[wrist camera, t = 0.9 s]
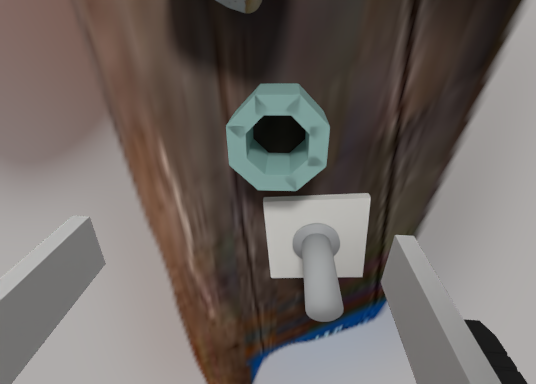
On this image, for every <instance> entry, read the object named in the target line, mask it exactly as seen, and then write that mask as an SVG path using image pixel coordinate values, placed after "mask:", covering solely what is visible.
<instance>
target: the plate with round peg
mask: <svg viewBox="0 0 536 384" xmlns="http://www.w3.org/2000/svg"><path fill="white" fill-rule="evenodd" d="M370 200H371V198H370V196H369V193H359V194H333V195H308V196H282V197H264V198H263V207H264V217H265V226H266V235H267V245H268V254H269V264H270V273H271V278H304V292H305V310H306V313H307V315H308V316H309V317H310V318H312V319H313V320H316V321H320V322H328V321H333V320H335V319H337V318H339V317H340V316H341V315H342V313H343V303H342V298H341V293H340V288H339V282H338V277H362V276H363V267H364V257H365V248H366V238H367V229H368V219H369V210H370Z"/></svg>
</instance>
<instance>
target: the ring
mask: <svg viewBox="0 0 536 384" xmlns="http://www.w3.org/2000/svg"><path fill="white" fill-rule="evenodd" d="M264 115H291V116H292V117H293V118H294V119H295V120H296V121H297V122H298V123H299V124H300V125H301V126H302V127H303V128H304V129H305V130H306V133H305V140H303V141H302V142H301V143H300V144H299V145H298V146H297V147H296V148H295V149H293V150H292V151H291V152H290V153H268V152H267V151H266V150H265V149H264V148H263V147H262V146H261V145H260V144H259V143H258V142H257V141H256V140H255V139H253V126H254V125H255V124H256V123H257V122H258V121H259V120H260V119H261V118H262V117H263V116H264ZM329 132H330V126H329V123H328V121H327V118H326V116H325V114H324V111H323V110H322V109H321V108H320V106H319V105H318V104H317V103H316V102H315V101H314V100H313V99H312V98H311V97H310V96H309V95H308V93H307V92H306V91H305V90H304V89H303V88H302V87H301V86H300V85H299V84H260V85H259V86H258V87H257V88H256V89H255V90H254V92H253V93H252V94H251V95H250V96H249V97H248V98H247V99H246V100H245V101H244V102H243V103H242V105H241V106H240V107H239V108H238V109H237V110H236V111H235V113H234V114H233V116H232V117H231V119H230V121H229V122H228V124H227V125H226V133H227V145H228V156H229V165H230V166H231V167H232V168H233V169H234V170H235V171H237V172H238V173H239V174H240V175H241V176H242V177H243V178H245V179H246V180H247V181H248V182H249V183H250V184H251V185H253V186H254V187H255V188H256V189H257V190H269V191H297V190H298V189H299V188H301V187H302V186H303V185H304V184H306V183H307V182H308V181H309V180H310V179H312V178H313V177H314V176H315V175H317V174H318V173H319V172H320V171H321V170H323V169H324V168H325V167H326V163H327V153H328V142H329Z"/></svg>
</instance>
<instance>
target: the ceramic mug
mask: <svg viewBox="0 0 536 384" xmlns="http://www.w3.org/2000/svg"><path fill="white" fill-rule="evenodd" d="M216 1H217V2H219V3H221V4H223V5H224V6H226V7H228V8H231V9H234V10H237V11H240V12H242V13H247V14H248V13H252V12H254V11H256V10H257V9H258V8H259V6H260V4H261V2H262V0H216Z"/></svg>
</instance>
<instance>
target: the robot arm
mask: <svg viewBox="0 0 536 384" xmlns="http://www.w3.org/2000/svg"><path fill="white" fill-rule="evenodd" d="M104 265H105V261H104V258H103V255H102V252H101V249H100V246H99V243H98V240H97V237H96V234H95V231H94V228H93V225H92V222H91V220H90V217H88V216H72V217H70V218H69V219H68V220H67V221H66V222H65V223H63V224H62V225H61V226H60V227H59V228H58V229H56V230H55V231H54V232H53V233H52V234H51V235H50V236H48V237H47V238H46V239H45V240H44V241H43V242H41V243H40V244H39V245H38V246H37V247H36V248H34V249H33V250H32V251H31V252H30V253H29V254H27V255H26V256H25V257H24V258H23V259H22V260H21V261H20V262H18V263H17V264H16V265H15V266H14V267H13V268H11V269H10V270H9V271H8V272H7V273H6V274H4V275H3V276H2V277H1V278H0V384H12V382H13V381H14V380H15V379H16V377H17V376H18V375H19V373H20V372H21V371H22V370H23V368H24V367H25V366H26V365H27V363H28V362H29V360H30V359H31V358H32V357H33V355H34V354H35V353H36V352H37V351H38V349H39V348H40V347H41V345H42V344H43V343H44V342H45V340H46V339H47V337H48V336H49V335H50V334H51V333H52V331H53V330H54V329H55V328H56V326H57V325H58V324H59V322H60V321H61V320H62V319H63V317H64V316H65V315H66V314H67V312H68V311H69V310H70V308H71V307H72V306H73V305H74V303H75V302H76V301H77V299H78V298H79V297H80V296H81V294H82V293H83V292H84V290H85V289H86V288H87V287H88V285H89V284H90V283H91V282H92V280H93V279H94V278H95V277H96V275H97V274H98V273H99V271H100V270H101V269H102V267H103V266H104ZM381 284H382V287H383V290H384V293H385V296H386V298H387V301H388V304H389V307H390V310H391V312H392V315H393V318H394V321H395V324H396V326H397V329H398V332H399V335H400V338H401V341H402V343H403V346H404V349H405V352H406V355H407V357H408V360H409V363H410V366H411V369H412V371H413V374H414V377H415V380H416V383H417V384H527V382H526V381H525V379H524V378H523V376H522V375H521V373H520V372H518V371H517V367H516V366H515V364H514V363H513V361H512V360H511V358H510V357H508V356H507V352H506V351H505V349H504V348H503V346H502V345H501V343H500V342H499V340H498V339H497V337H496V336H495V335H494V334H493V333H492V332H491V331H490V330H489V329H488V328H487V327H485V326H484V325H483V324H482V323H481V322H480V321H475V320H464V319H463V318H462V316H461V315H460V313H459V311H458V309H457V308H456V306H455V304H454V303H453V301H452V299H451V298H450V296H449V294H448V293H447V291H446V289H445V288H444V286H443V284H442V283H441V281H440V279H439V277H438V276H437V274H436V272H435V271H434V269H433V267H432V266H431V264H430V262H429V261H428V259H427V257H426V256H425V254H424V252H423V250H422V249H421V247H420V245H419V244H418V242H417V240H416V239H415V237H414V236H406V235H395V237H394V240H393V243H392V247H391V250H390V253H389V256H388V260H387V263H386V266H385V270H384V273H383V276H382V279H381Z"/></svg>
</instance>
